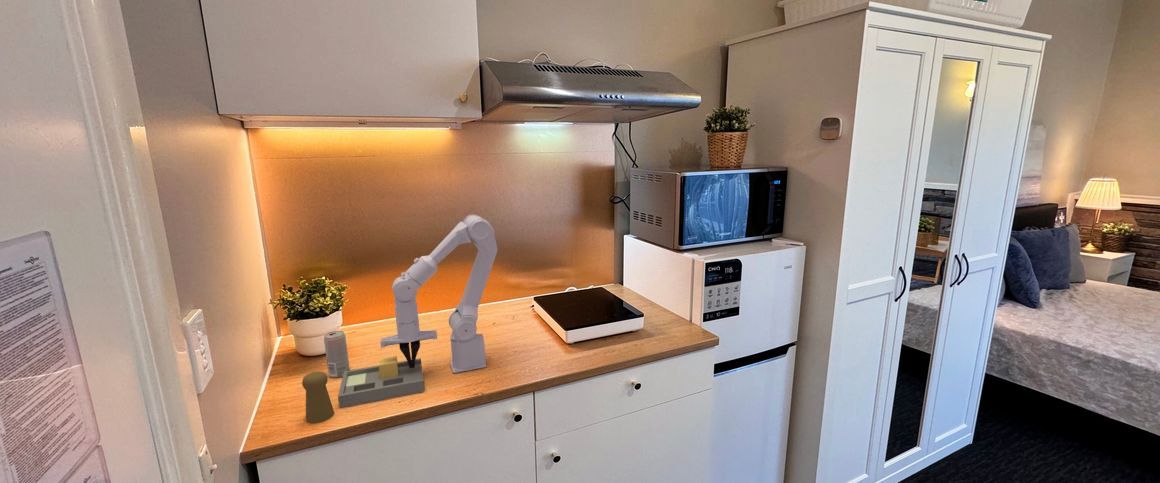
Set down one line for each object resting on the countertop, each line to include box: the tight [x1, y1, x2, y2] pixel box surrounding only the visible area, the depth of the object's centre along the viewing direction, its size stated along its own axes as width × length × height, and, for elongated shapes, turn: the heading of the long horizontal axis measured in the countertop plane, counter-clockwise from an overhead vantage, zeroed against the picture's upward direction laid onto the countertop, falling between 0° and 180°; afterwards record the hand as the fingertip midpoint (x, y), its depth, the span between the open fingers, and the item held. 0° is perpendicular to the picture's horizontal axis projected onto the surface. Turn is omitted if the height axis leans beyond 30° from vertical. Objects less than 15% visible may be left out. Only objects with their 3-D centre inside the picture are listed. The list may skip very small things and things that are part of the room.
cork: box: [301, 370, 335, 425], centre depth 111 cm, size 6×6×11 cm
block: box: [378, 355, 398, 379], centre depth 127 cm, size 4×4×4 cm
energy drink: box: [323, 330, 351, 379], centre depth 131 cm, size 5×5×12 cm
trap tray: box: [337, 357, 425, 409], centre depth 125 cm, size 20×14×3 cm
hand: (412, 366), depth 130 cm, fingers closed
